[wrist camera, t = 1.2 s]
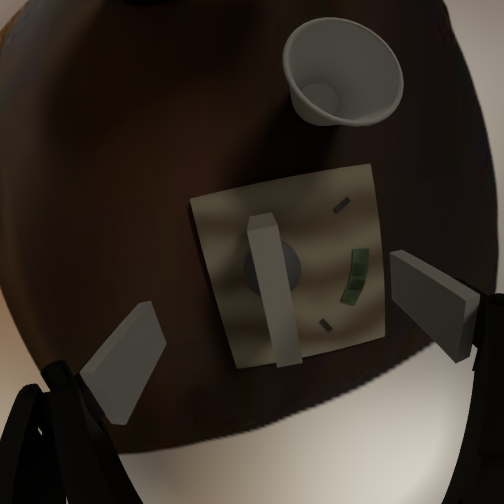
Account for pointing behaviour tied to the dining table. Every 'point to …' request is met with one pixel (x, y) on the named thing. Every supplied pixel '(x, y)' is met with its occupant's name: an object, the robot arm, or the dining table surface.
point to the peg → (274, 284)
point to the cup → (341, 73)
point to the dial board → (310, 255)
